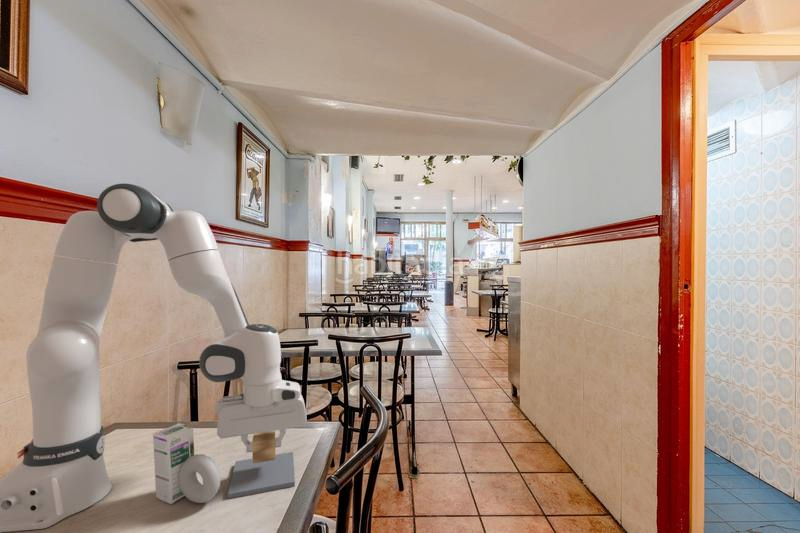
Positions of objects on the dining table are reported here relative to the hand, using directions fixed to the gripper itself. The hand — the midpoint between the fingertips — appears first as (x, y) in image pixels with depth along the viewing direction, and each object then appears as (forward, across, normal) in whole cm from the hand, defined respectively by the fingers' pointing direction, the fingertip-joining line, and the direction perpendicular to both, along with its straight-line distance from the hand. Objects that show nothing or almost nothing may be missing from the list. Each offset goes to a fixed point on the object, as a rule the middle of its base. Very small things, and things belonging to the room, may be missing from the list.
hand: (264, 448), depth 89 cm
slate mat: (+6, 0, 0) cm, 6 cm away
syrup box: (+6, -19, -2) cm, 20 cm away
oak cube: (+2, 0, 0) cm, 2 cm away
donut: (+6, -13, -6) cm, 16 cm away
